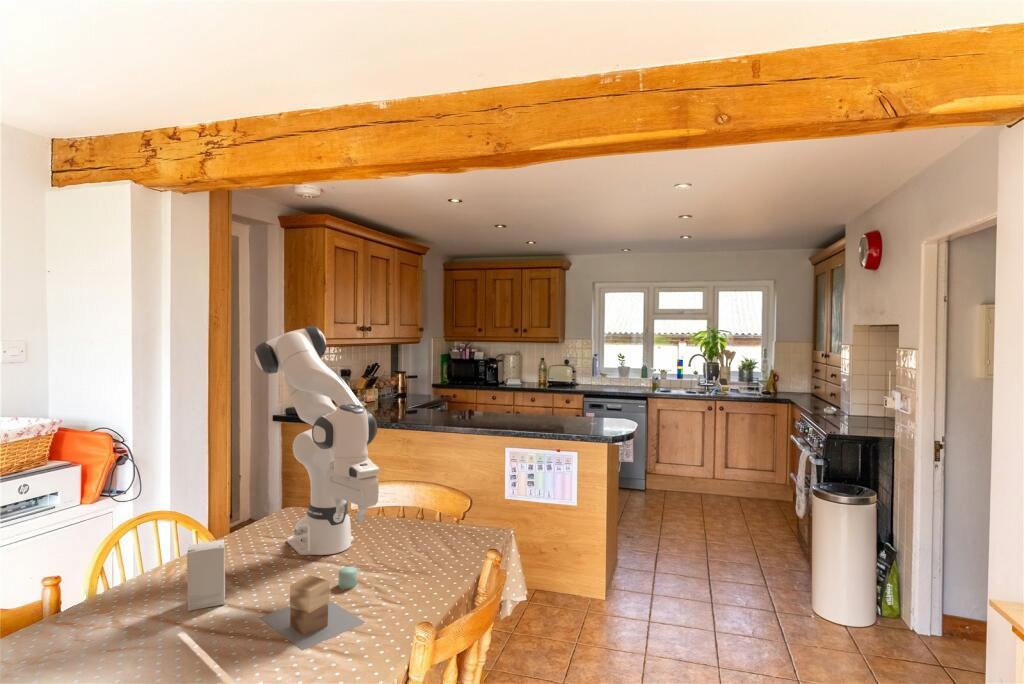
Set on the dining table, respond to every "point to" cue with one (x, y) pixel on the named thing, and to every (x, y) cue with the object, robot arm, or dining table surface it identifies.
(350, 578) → the mint green cylinder
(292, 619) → the bottom block
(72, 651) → the dining table surface
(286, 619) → the board
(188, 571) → the skincare box
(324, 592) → the top block
